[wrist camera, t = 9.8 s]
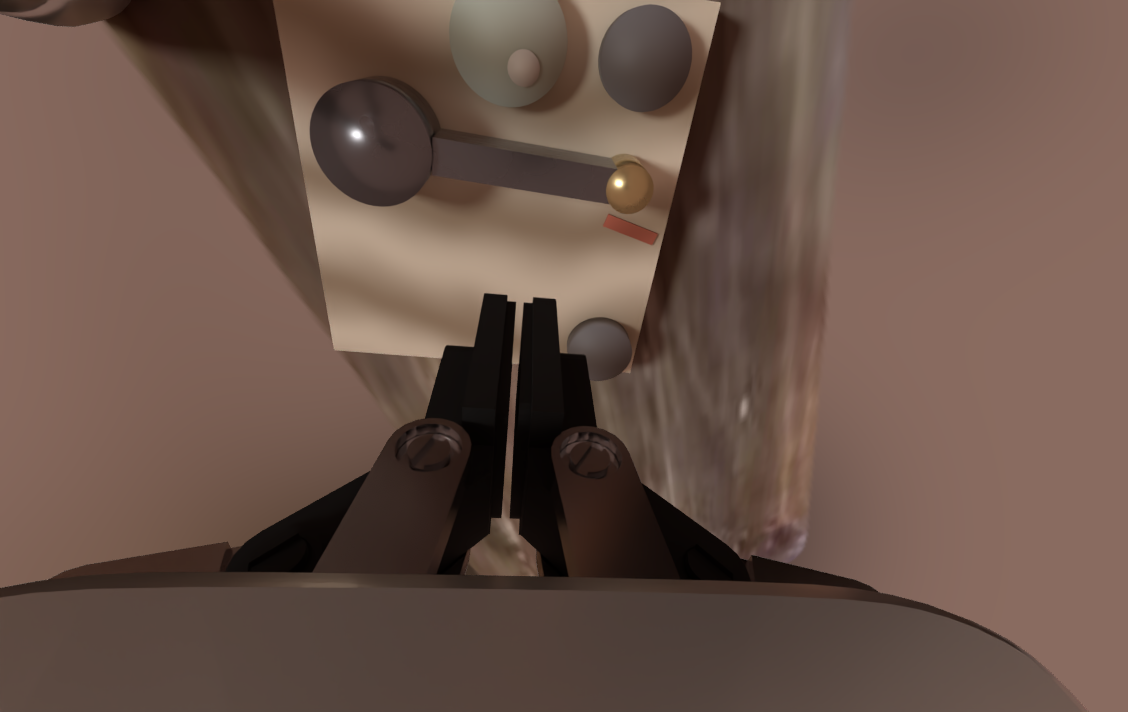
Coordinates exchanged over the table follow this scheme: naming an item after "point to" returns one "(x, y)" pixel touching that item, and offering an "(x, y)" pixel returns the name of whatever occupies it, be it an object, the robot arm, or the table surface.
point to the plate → (492, 213)
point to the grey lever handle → (449, 153)
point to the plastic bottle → (63, 10)
